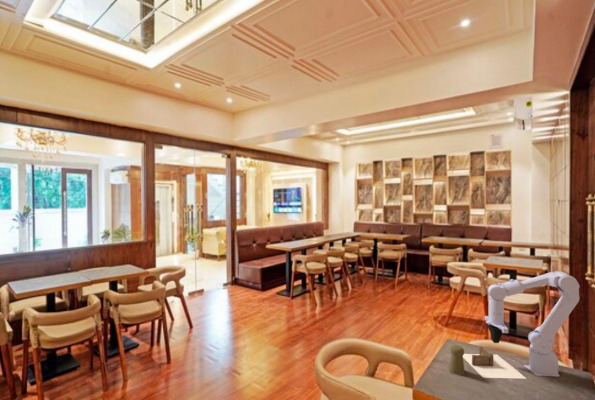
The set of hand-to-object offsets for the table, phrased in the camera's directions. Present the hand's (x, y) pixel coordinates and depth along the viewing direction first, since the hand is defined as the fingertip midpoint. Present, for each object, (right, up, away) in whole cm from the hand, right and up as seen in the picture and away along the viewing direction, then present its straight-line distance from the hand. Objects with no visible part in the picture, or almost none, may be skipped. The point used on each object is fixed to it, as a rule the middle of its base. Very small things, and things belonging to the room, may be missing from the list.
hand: (495, 342), depth 139 cm
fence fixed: (-4, -9, +1) cm, 10 cm away
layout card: (-4, -9, -3) cm, 11 cm away
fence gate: (-8, -9, -2) cm, 12 cm away
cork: (-21, -10, -8) cm, 24 cm away
